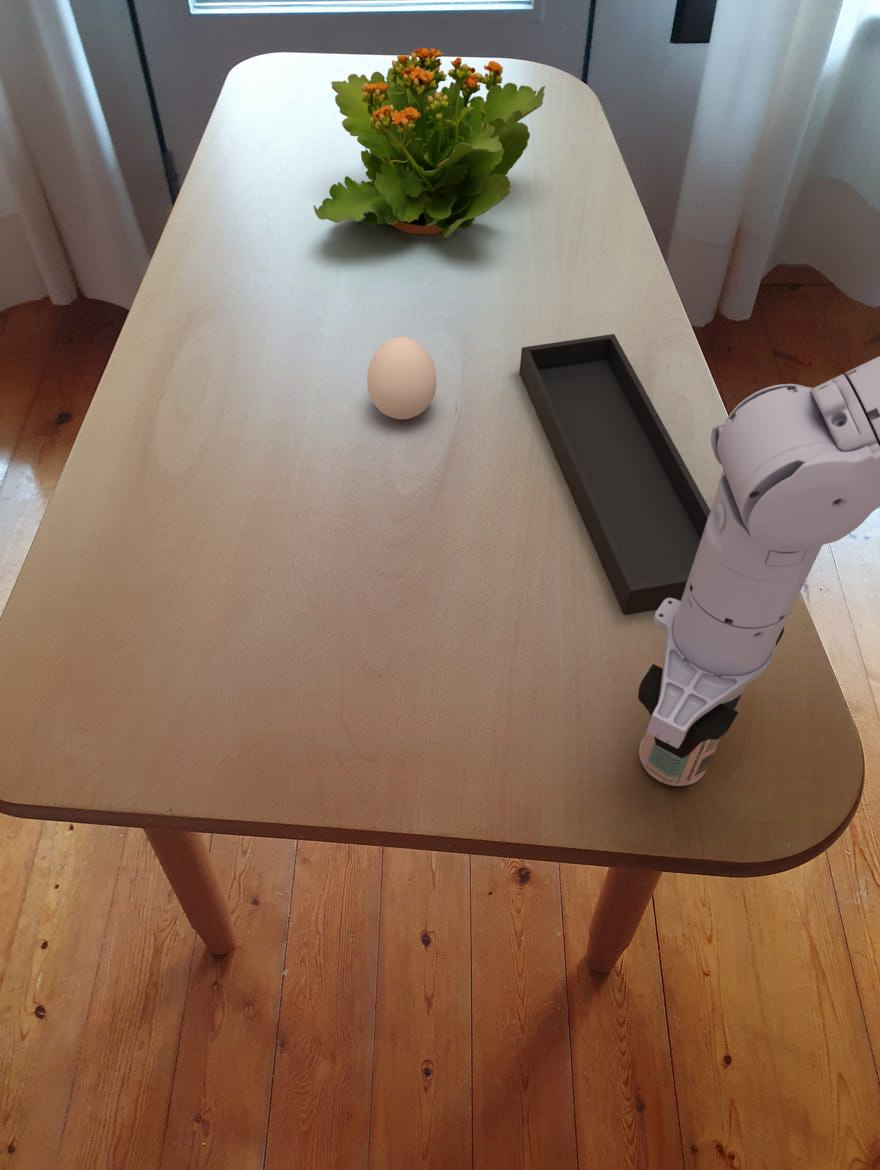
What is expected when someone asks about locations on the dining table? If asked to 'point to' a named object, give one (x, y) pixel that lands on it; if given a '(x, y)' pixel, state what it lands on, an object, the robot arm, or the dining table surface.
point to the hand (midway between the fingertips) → (688, 718)
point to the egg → (401, 378)
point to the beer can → (674, 767)
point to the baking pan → (618, 467)
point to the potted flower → (429, 144)
